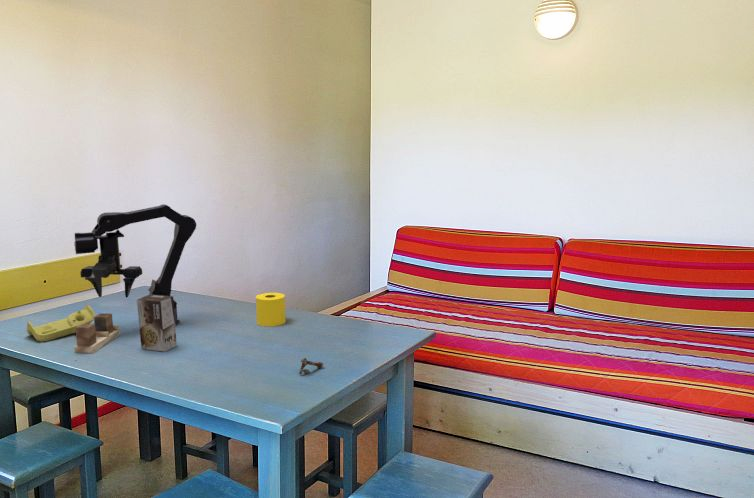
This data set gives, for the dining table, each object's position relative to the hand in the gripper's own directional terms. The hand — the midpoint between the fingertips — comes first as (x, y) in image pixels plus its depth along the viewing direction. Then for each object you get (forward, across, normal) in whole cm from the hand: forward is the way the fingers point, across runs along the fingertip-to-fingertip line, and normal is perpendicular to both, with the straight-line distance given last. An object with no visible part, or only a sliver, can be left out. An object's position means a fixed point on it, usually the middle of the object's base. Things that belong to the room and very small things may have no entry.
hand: (113, 297), depth 210 cm
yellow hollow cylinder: (+12, +50, +13) cm, 53 cm away
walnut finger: (+10, 0, -8) cm, 13 cm away
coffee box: (+12, +21, -15) cm, 29 cm away
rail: (+12, 0, -12) cm, 17 cm away
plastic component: (+12, -17, -3) cm, 21 cm away
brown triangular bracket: (+12, +72, -32) cm, 80 cm away
